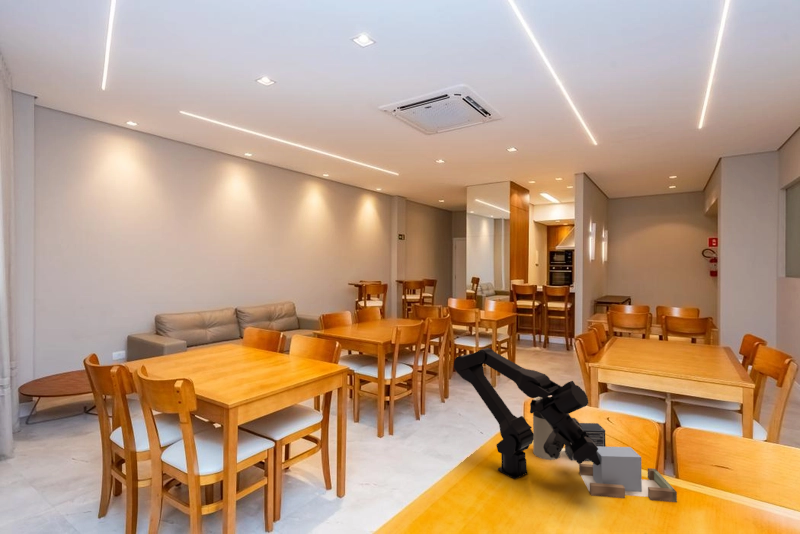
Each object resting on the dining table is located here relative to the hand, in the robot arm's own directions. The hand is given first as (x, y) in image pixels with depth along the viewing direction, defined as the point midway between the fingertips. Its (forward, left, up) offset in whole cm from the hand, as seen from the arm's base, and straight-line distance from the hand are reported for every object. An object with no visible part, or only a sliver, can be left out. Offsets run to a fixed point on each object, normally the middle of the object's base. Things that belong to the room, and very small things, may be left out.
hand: (598, 464), depth 110 cm
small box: (-12, +14, -8) cm, 21 cm away
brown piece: (+4, +6, -7) cm, 10 cm away
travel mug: (-20, +6, -8) cm, 23 cm away
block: (+2, +5, -6) cm, 9 cm away
